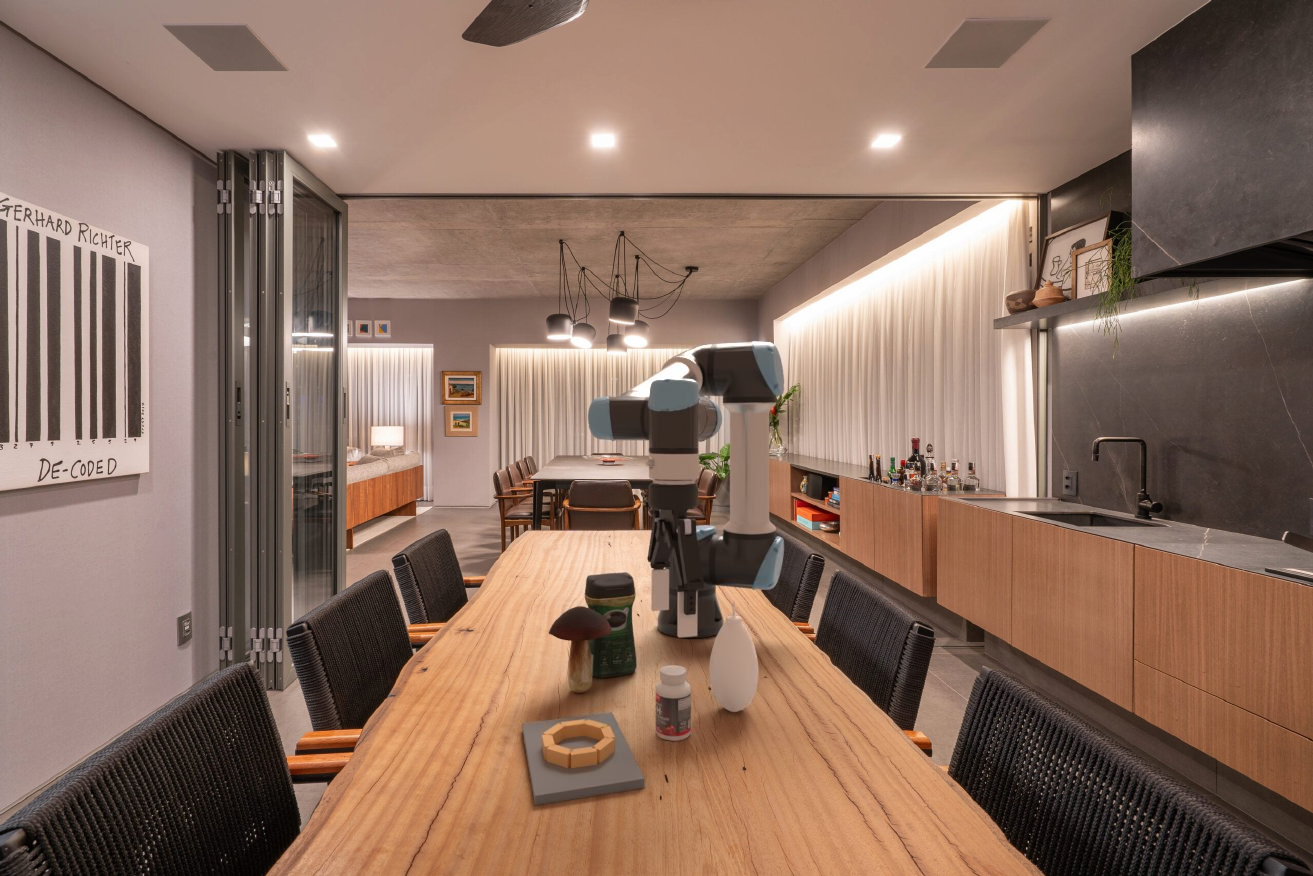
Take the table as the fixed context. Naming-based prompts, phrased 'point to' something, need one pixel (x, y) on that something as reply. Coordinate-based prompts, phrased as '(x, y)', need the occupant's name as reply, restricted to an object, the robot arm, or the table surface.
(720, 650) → the sauce bottle
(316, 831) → the table surface
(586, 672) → the decorative mushroom
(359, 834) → the table surface
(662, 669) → the pill bottle
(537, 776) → the socket board
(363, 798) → the table surface
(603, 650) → the coffee jar
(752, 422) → the robot arm
